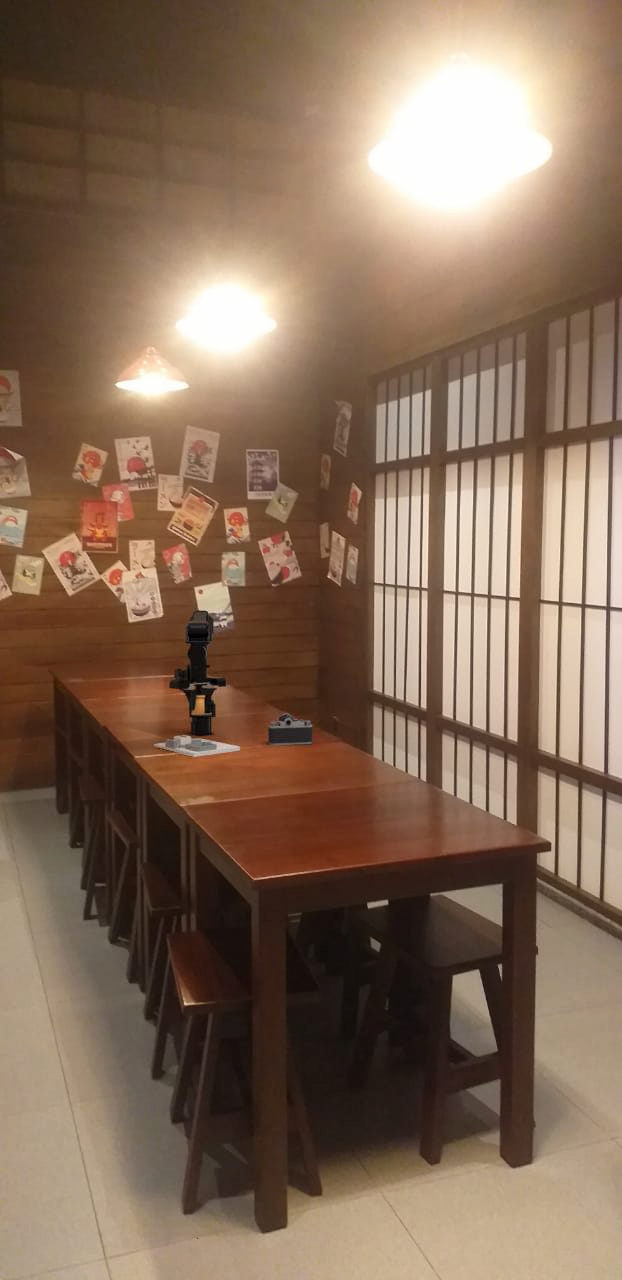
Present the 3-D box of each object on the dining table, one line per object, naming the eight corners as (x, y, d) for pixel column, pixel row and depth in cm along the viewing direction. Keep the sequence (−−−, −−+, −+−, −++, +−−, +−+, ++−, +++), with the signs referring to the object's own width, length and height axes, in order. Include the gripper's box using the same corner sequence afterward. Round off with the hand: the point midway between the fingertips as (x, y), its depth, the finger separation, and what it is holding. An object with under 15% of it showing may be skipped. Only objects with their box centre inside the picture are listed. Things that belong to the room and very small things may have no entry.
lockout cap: (199, 713, 317) (199, 694, 317) (208, 714, 314) (208, 695, 314) (188, 713, 314) (188, 695, 314) (196, 715, 311) (196, 696, 311)
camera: (309, 740, 336) (309, 711, 335) (314, 744, 328) (314, 714, 327) (264, 741, 333) (264, 712, 332) (268, 745, 325) (268, 715, 324)
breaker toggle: (183, 744, 318) (183, 734, 317) (191, 745, 315) (191, 736, 315) (173, 745, 315) (173, 735, 315) (180, 747, 312) (180, 737, 312)
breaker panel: (199, 741, 330) (199, 731, 330) (239, 750, 314) (239, 739, 314) (154, 747, 318) (154, 736, 318) (194, 757, 302) (194, 745, 302)
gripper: (206, 659, 326) (206, 706, 326) (159, 661, 313) (159, 710, 314) (227, 660, 318) (227, 708, 318) (179, 662, 305) (179, 712, 306)
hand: (198, 710), depth 314 cm, fingers closed on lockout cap, 4 cm apart
